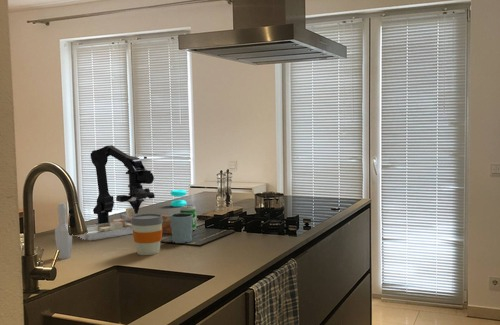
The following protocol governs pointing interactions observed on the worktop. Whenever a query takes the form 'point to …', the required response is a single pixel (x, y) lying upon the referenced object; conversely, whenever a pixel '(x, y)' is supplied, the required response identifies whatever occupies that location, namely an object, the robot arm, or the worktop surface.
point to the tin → (166, 224)
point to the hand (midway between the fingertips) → (136, 213)
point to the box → (90, 230)
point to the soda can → (191, 210)
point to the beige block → (116, 225)
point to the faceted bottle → (63, 233)
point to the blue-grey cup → (181, 227)
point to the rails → (108, 232)
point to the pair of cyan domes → (177, 194)
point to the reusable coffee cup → (147, 233)
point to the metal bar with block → (128, 215)
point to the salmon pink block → (120, 221)
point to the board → (111, 229)
